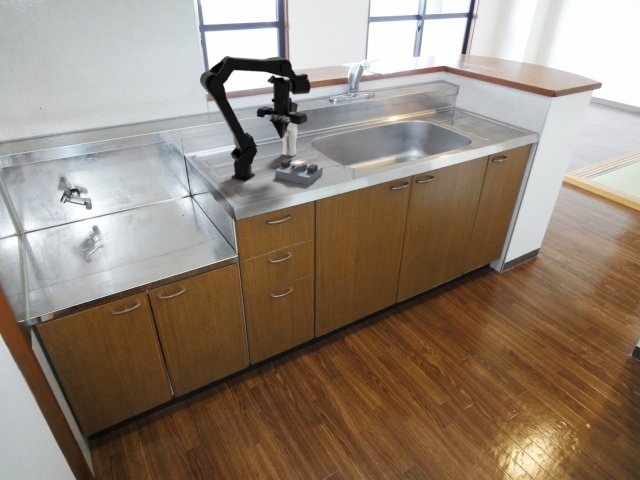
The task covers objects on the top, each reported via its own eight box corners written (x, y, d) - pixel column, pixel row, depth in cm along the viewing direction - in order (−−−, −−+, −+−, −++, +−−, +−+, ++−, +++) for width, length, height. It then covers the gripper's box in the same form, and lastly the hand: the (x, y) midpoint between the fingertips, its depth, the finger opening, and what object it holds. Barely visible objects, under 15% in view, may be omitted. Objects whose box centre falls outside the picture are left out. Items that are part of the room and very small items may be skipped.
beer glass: (298, 151, 184) (298, 116, 177) (296, 157, 179) (296, 121, 171) (282, 150, 185) (282, 116, 177) (279, 156, 179) (279, 120, 171)
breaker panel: (308, 185, 155) (308, 172, 152) (275, 177, 160) (274, 164, 157) (322, 174, 164) (322, 161, 161) (290, 167, 169) (290, 154, 166)
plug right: (312, 173, 156) (312, 168, 155) (307, 172, 157) (307, 167, 156) (317, 170, 159) (317, 165, 158) (311, 168, 160) (312, 163, 159)
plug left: (286, 168, 160) (286, 163, 159) (281, 166, 161) (280, 161, 160) (291, 164, 163) (291, 159, 162) (286, 163, 164) (286, 158, 163)
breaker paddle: (298, 166, 155) (298, 164, 155) (289, 164, 156) (290, 162, 156) (308, 163, 162) (308, 160, 162) (300, 161, 163) (300, 159, 163)
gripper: (315, 95, 154) (313, 137, 162) (271, 88, 161) (272, 128, 169) (299, 101, 146) (299, 144, 154) (255, 93, 153) (256, 135, 161)
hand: (281, 138), depth 160 cm, fingers closed
